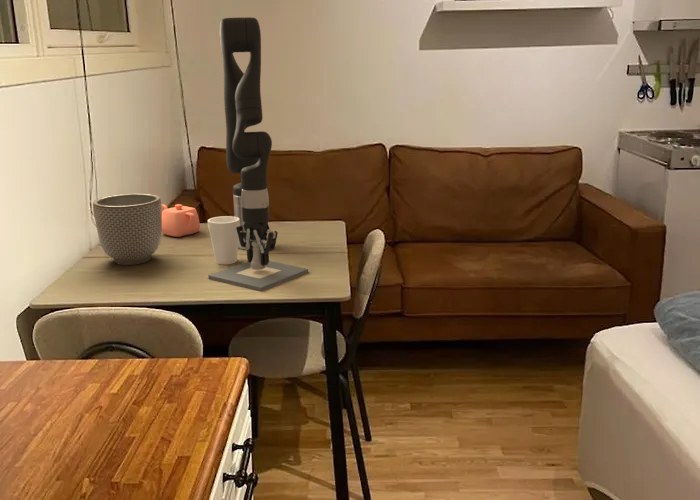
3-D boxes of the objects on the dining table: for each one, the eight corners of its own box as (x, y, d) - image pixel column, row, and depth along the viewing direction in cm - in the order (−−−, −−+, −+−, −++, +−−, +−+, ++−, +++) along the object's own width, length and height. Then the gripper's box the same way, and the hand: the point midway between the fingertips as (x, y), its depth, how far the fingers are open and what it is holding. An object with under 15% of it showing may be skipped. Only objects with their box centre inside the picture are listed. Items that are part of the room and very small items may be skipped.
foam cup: (226, 255, 228) (223, 214, 224) (248, 260, 223) (246, 218, 219) (204, 262, 220) (201, 220, 217) (226, 267, 215) (223, 224, 212)
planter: (87, 261, 224) (80, 200, 219) (143, 248, 238) (138, 190, 232) (121, 274, 211) (114, 209, 206) (178, 259, 225) (173, 198, 219)
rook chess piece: (250, 265, 209) (249, 238, 207) (266, 265, 209) (265, 238, 207) (250, 270, 205) (248, 243, 202) (266, 269, 205) (264, 242, 203)
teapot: (182, 240, 246) (179, 210, 244) (150, 232, 258) (147, 204, 255) (208, 234, 255) (206, 204, 252) (177, 226, 266) (174, 198, 263)
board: (208, 278, 205) (208, 274, 205) (257, 261, 221) (256, 258, 221) (261, 291, 194) (260, 287, 194) (308, 272, 210) (308, 268, 209)
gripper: (227, 204, 203) (230, 262, 208) (265, 210, 195) (268, 271, 200) (245, 199, 209) (249, 256, 214) (283, 204, 201) (286, 264, 206)
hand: (258, 263), depth 207 cm, fingers closed on rook chess piece, 4 cm apart
